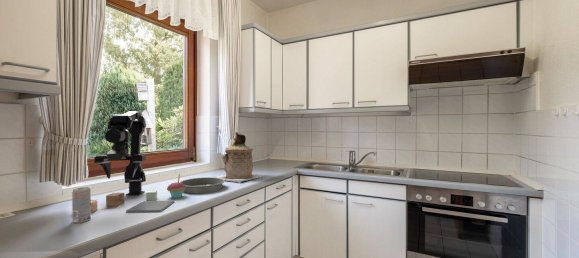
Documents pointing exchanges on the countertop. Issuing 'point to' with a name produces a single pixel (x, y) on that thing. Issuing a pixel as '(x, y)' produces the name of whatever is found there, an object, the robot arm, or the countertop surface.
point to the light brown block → (93, 206)
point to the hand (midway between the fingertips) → (120, 178)
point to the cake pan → (202, 185)
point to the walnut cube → (114, 199)
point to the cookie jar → (238, 161)
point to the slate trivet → (150, 206)
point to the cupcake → (176, 189)
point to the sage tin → (151, 195)
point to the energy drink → (81, 205)
